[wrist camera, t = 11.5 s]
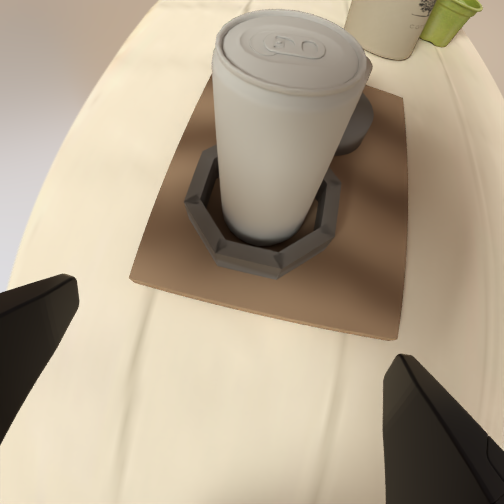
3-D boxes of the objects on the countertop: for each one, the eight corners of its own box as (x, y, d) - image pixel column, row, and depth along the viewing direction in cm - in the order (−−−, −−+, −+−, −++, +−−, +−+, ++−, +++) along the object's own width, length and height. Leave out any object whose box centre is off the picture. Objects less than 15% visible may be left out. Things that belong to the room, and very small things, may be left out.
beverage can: (229, 172, 20) (227, 1, 9) (305, 183, 20) (362, 22, 9) (216, 244, 19) (191, 83, 7) (299, 255, 19) (380, 112, 7)
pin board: (388, 340, 18) (461, 326, 11) (134, 282, 19) (82, 239, 12) (397, 106, 25) (430, 46, 18) (222, 64, 25) (221, -6, 18)
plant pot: (468, 54, 30) (493, 11, 22) (434, 59, 28) (462, 6, 20) (421, 14, 33) (440, -28, 24) (381, 15, 31) (400, -36, 23)
